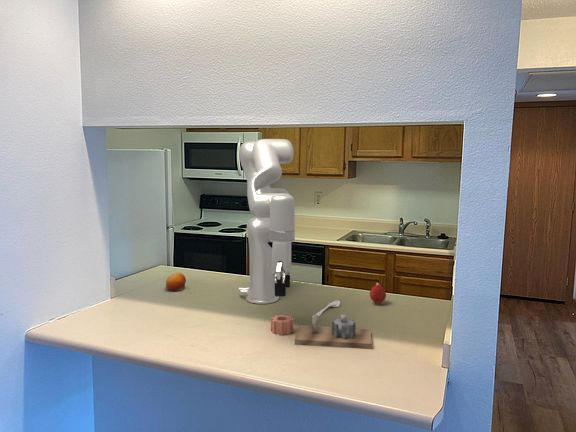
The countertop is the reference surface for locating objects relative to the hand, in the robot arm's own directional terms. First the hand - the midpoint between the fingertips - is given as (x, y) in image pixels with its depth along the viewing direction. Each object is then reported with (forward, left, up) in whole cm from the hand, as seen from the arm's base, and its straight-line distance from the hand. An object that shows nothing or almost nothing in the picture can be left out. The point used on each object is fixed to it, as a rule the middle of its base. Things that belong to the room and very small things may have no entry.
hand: (282, 291), depth 138 cm
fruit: (-49, +38, -13) cm, 63 cm away
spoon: (+12, +21, -14) cm, 27 cm away
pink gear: (0, +1, -13) cm, 13 cm away
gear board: (+16, -3, -13) cm, 21 cm away
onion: (+31, +31, -13) cm, 45 cm away
